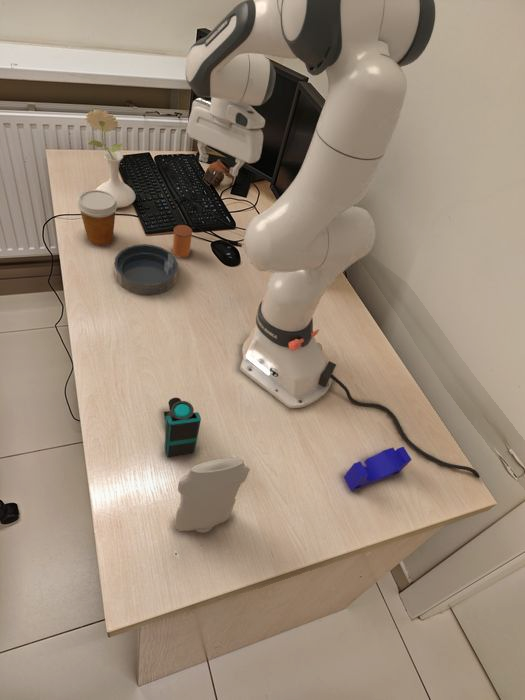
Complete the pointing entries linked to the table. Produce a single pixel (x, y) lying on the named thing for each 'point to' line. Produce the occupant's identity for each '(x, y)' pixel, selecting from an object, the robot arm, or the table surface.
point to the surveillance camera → (181, 428)
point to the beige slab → (209, 493)
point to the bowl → (145, 269)
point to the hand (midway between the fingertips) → (217, 168)
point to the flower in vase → (111, 159)
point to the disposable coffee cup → (98, 215)
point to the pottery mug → (217, 173)
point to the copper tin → (182, 240)
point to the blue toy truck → (377, 467)
